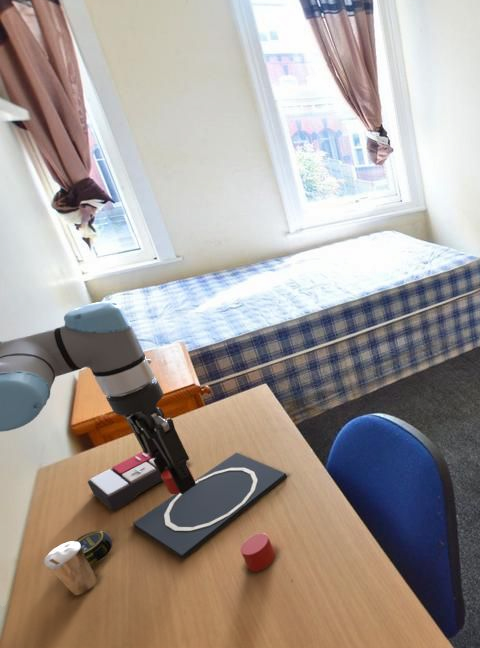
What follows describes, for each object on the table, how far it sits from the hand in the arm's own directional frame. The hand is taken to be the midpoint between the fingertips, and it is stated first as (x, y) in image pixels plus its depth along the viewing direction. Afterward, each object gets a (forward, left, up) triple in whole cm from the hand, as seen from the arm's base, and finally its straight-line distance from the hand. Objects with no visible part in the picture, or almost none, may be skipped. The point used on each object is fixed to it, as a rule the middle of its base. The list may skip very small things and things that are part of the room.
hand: (181, 484), depth 93 cm
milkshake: (-19, +1, -7) cm, 20 cm away
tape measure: (-16, +7, -7) cm, 18 cm away
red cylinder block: (0, 0, 0) cm, 0 cm away
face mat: (+3, -1, -7) cm, 8 cm away
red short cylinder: (-2, -24, -7) cm, 25 cm away
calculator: (0, +22, -7) cm, 23 cm away
